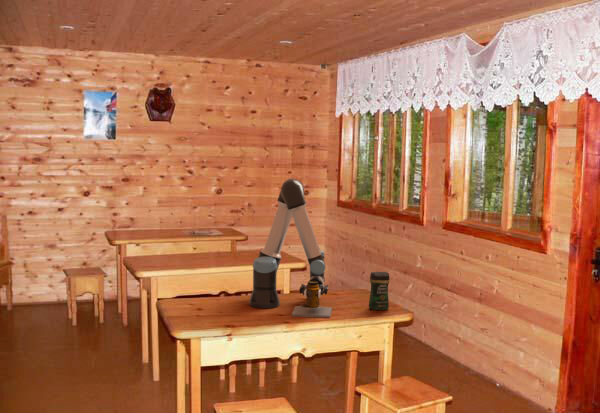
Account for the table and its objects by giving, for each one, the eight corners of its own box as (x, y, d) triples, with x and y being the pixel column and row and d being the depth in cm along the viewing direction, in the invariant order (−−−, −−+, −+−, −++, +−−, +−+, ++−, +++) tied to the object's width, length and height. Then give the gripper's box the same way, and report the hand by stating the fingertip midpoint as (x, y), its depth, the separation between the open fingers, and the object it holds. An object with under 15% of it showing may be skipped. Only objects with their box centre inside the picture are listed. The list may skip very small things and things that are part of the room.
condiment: (322, 307, 311) (322, 282, 310) (307, 309, 306) (307, 284, 305) (314, 304, 317) (314, 279, 316) (299, 306, 312) (299, 281, 311)
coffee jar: (371, 311, 317) (372, 273, 315) (367, 307, 325) (368, 270, 323) (390, 310, 319) (391, 273, 317) (385, 306, 326) (386, 270, 325)
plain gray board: (291, 316, 305) (291, 314, 305) (295, 308, 321) (295, 306, 321) (330, 317, 303) (330, 315, 303) (331, 309, 319) (331, 307, 319)
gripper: (334, 292, 328) (332, 303, 305) (296, 291, 330) (291, 301, 307) (334, 277, 327) (332, 287, 305) (297, 276, 329) (291, 286, 306)
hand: (312, 294), depth 306 cm, fingers closed on condiment, 6 cm apart
